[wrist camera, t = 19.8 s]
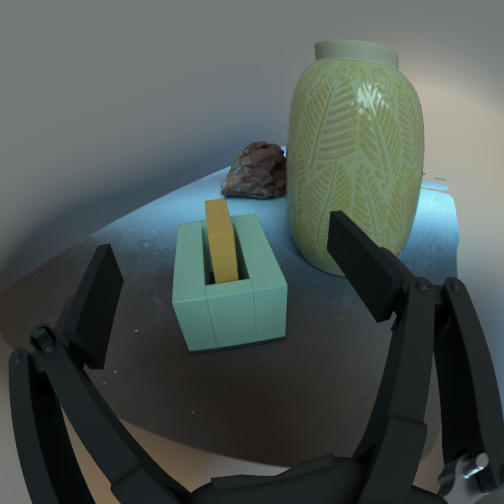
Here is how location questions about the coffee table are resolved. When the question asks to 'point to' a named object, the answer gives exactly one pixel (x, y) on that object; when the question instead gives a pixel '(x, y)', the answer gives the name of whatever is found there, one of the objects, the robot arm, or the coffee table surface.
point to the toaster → (228, 290)
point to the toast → (221, 241)
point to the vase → (353, 149)
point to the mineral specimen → (257, 172)
